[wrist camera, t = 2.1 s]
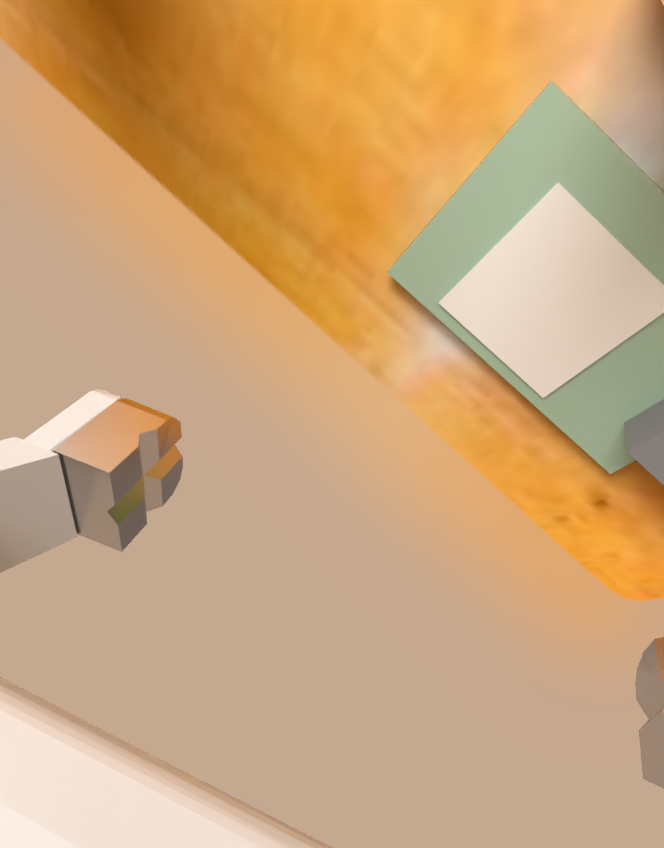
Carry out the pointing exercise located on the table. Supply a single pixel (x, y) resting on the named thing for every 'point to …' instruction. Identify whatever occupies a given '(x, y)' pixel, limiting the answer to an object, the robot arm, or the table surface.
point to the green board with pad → (558, 279)
